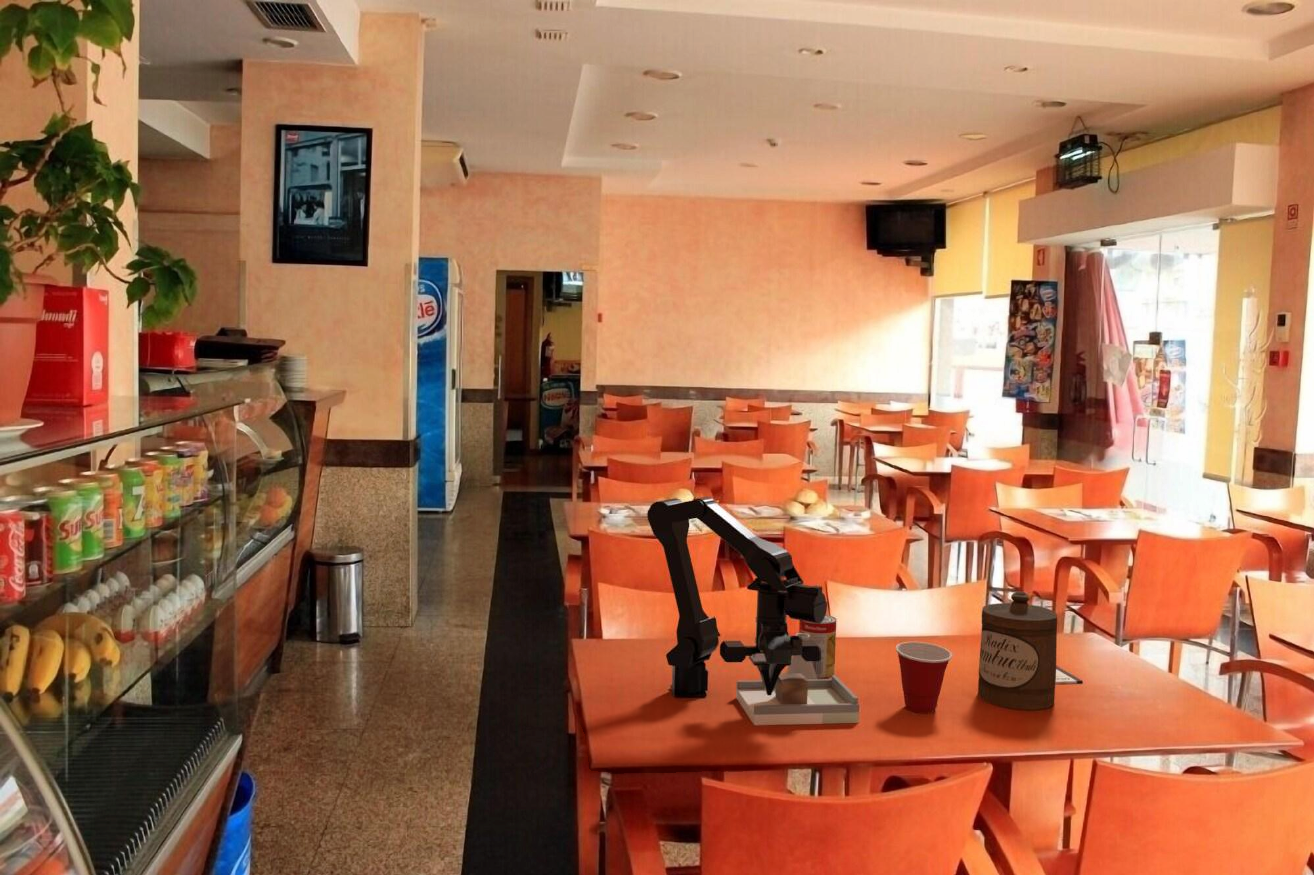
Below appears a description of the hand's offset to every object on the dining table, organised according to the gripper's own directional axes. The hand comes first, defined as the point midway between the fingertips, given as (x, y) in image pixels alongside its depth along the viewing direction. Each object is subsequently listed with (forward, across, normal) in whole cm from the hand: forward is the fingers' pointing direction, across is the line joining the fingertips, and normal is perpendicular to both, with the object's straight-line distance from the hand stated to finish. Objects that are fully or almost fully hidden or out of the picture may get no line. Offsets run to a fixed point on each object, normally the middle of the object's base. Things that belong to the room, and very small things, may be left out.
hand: (768, 694), depth 216 cm
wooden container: (+3, +52, +5) cm, 53 cm away
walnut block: (+1, +4, 0) cm, 5 cm away
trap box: (+3, +5, 0) cm, 6 cm away
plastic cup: (+3, +30, -1) cm, 31 cm away
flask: (+3, +11, +18) cm, 22 cm away
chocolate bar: (+4, +67, +23) cm, 71 cm away
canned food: (+3, +16, +24) cm, 29 cm away
